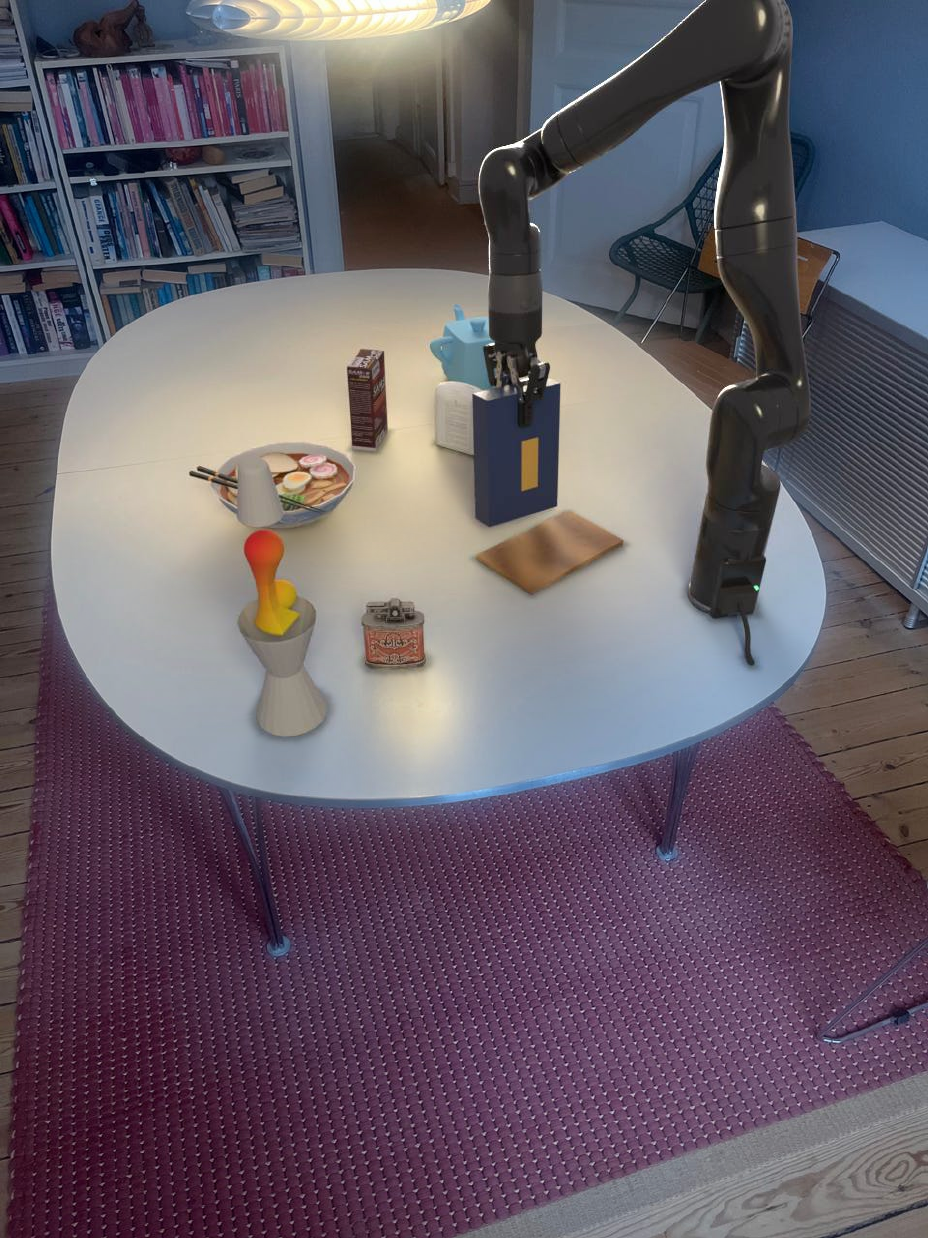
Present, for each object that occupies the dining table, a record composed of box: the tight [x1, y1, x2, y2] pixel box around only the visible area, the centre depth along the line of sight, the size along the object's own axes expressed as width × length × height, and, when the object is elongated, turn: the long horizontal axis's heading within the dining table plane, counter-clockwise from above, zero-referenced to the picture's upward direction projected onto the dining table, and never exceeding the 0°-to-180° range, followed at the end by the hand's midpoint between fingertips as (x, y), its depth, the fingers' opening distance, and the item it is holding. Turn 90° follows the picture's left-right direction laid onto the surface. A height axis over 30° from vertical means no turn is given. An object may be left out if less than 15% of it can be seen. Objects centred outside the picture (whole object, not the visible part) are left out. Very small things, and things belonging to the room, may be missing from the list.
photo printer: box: [434, 380, 483, 456], centre depth 169 cm, size 10×4×12 cm, turn 60°
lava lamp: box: [236, 457, 327, 738], centre depth 108 cm, size 9×9×35 cm
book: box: [472, 377, 562, 528], centre depth 144 cm, size 20×4×13 cm
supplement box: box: [346, 348, 389, 453], centre depth 171 cm, size 9×5×16 cm, turn 168°
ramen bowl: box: [188, 441, 357, 529], centre depth 153 cm, size 25×23×8 cm
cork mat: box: [476, 509, 624, 595], centre depth 146 cm, size 20×12×1 cm, turn 131°
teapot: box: [429, 304, 508, 391], centre depth 191 cm, size 18×16×14 cm
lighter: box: [360, 597, 427, 671], centre depth 123 cm, size 8×3×10 cm, turn 92°
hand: (515, 420), depth 141 cm, fingers closed on book, 4 cm apart
